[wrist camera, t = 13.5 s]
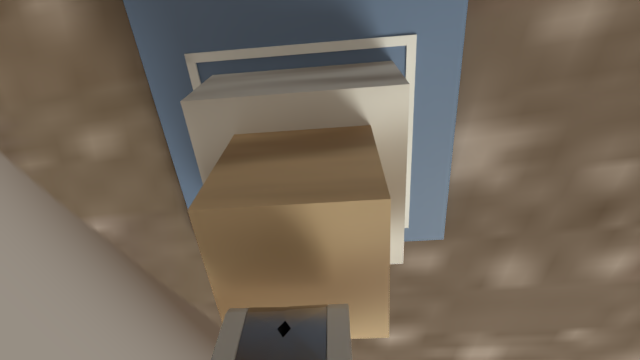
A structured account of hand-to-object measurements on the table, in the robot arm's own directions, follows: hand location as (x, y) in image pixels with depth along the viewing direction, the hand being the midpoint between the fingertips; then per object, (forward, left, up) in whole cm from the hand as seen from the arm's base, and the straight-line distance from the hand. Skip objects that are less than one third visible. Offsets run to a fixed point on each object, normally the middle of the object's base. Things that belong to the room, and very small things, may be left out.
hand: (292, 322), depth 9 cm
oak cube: (0, 0, -6) cm, 6 cm away
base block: (0, 0, -10) cm, 10 cm away
